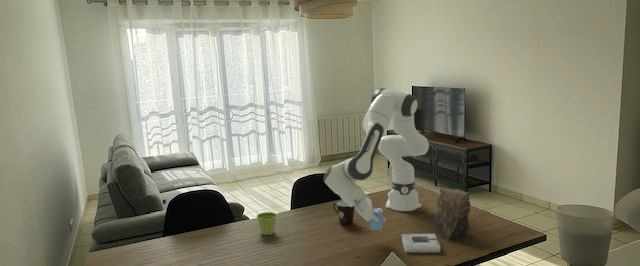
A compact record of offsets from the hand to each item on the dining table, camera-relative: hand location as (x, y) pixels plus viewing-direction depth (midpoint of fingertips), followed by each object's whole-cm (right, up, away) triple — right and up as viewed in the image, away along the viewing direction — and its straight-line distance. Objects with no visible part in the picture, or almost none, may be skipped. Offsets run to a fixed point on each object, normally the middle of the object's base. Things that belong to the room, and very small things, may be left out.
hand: (377, 218), depth 190 cm
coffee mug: (-13, -7, +27) cm, 31 cm away
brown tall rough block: (+33, -9, +7) cm, 35 cm away
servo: (0, -4, +1) cm, 4 cm away
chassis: (+18, -11, -4) cm, 21 cm away
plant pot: (-49, -10, +17) cm, 53 cm away
